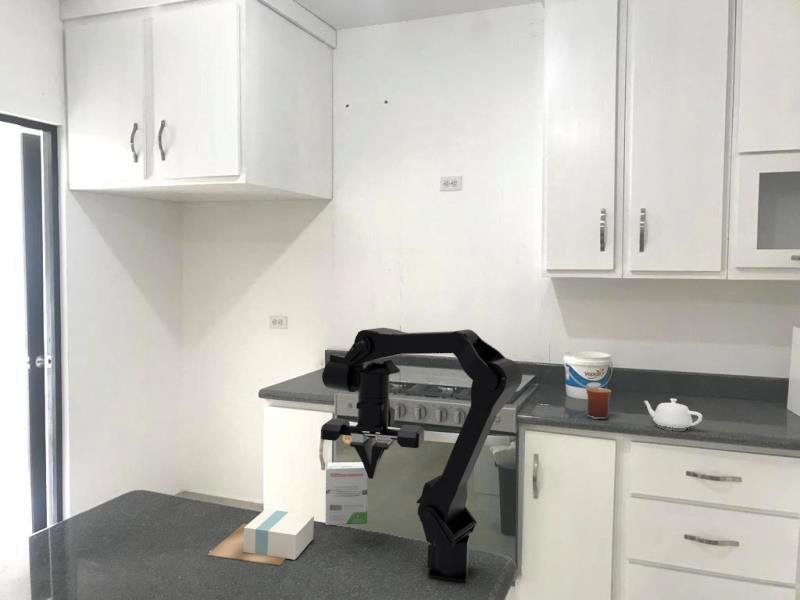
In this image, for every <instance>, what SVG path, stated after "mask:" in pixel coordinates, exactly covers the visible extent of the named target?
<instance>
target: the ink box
mask: <svg viewBox="0 0 800 600" xmlns="http://www.w3.org/2000/svg"><path fill="white" fill-rule="evenodd" d="M368 479H369V478H368V475H367V473H366V470H365V468H364V465H363V463H362V461H355V462H354V461H351V462H348V461H347V462H338V461H337V462H326V464H325V525H326V526H331V525H333V526H334V525H335V526H336V525H337V526H338V525H363V524H364V525H365V524H368Z"/></svg>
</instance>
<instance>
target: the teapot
mask: <svg viewBox="0 0 800 600" xmlns="http://www.w3.org/2000/svg"><path fill="white" fill-rule="evenodd" d="M669 400H670V401H671V402H660V403H659V404H658V405H657V406H656V408H655V410H653V408H652V406H651V404H650V403H649V401H648V400H643V403H644V404H645V406H646V408H647V410H648V413H649V415H650V416H651V418H652V419H653V422H655V423H656V424H658V425H661V426H667V427H671V428H672V427H673V428H685V427H690V426H691V427H692V426H697V425H698V424H700V423H701V422H702V421H703V414H701V412H698V411H693V410H690V409H689V407H688V406H687V405H684V404H680V403H677V401H678V399H677V398H674V397H673V398H670V399H669ZM692 415H693V416H697V417H698V418H697V420H696V421H694V420H693V418H692ZM655 423H654V424H655ZM656 424H655V425H656ZM691 427H690V428H691Z"/></svg>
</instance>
